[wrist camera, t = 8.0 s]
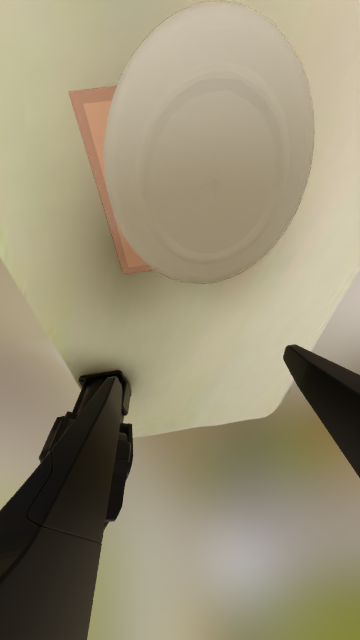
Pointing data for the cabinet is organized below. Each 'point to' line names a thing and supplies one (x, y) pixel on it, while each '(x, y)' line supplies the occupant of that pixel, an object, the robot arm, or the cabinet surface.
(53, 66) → the cabinet surface
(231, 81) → the sprinkles bottle
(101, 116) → the tray
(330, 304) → the cabinet surface
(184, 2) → the cabinet surface
